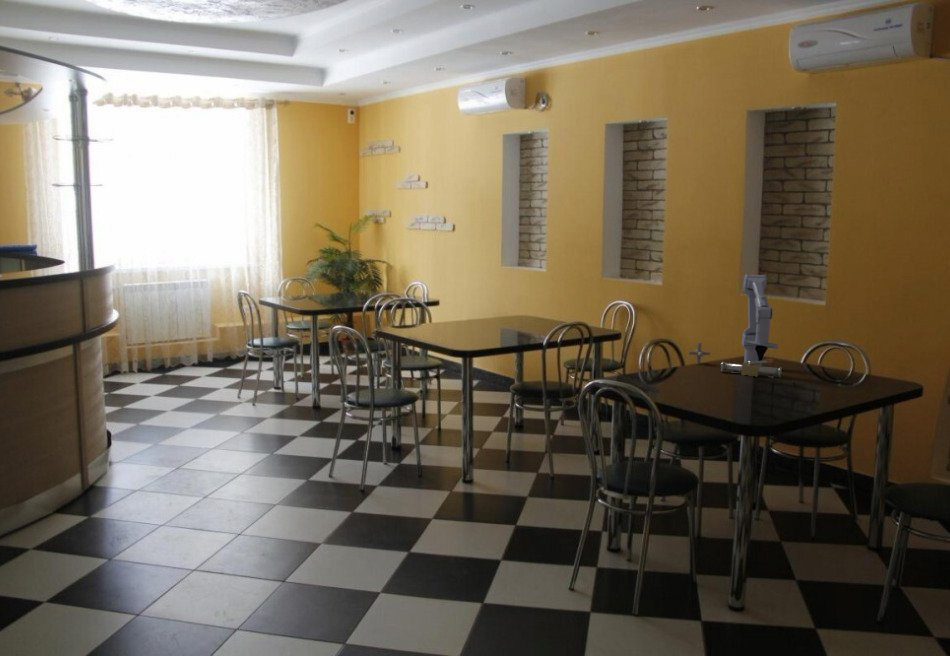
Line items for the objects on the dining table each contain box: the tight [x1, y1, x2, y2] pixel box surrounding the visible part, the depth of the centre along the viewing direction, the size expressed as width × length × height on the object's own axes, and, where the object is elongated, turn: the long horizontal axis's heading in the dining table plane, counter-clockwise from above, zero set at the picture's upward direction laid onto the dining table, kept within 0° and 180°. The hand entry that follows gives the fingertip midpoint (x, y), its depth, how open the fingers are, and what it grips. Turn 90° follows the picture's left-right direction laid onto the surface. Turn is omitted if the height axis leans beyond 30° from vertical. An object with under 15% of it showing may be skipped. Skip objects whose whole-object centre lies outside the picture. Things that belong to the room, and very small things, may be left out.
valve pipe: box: [720, 361, 783, 379], centre depth 388 cm, size 6×26×5 cm, turn 63°
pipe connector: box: [687, 342, 711, 364], centre depth 413 cm, size 10×10×10 cm
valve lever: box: [748, 358, 774, 364], centre depth 390 cm, size 14×3×1 cm, turn 115°
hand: (760, 362), depth 392 cm, fingers closed, pressing on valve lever
